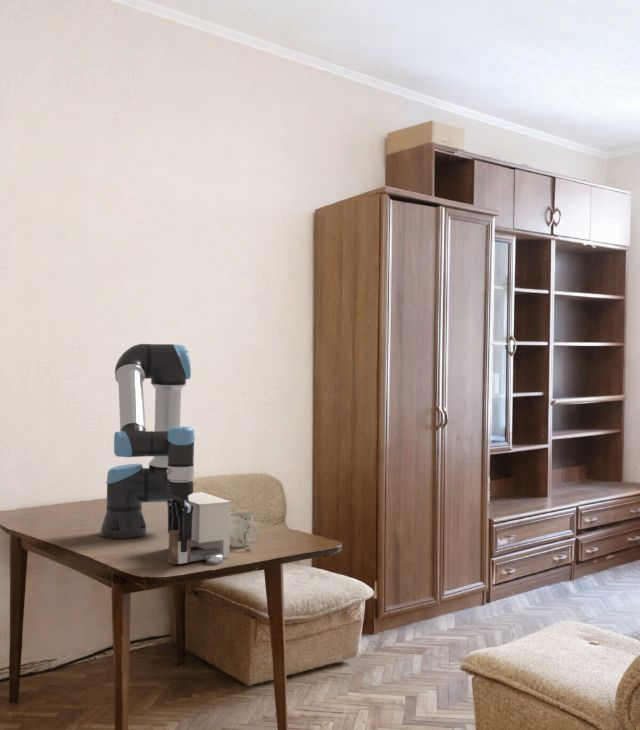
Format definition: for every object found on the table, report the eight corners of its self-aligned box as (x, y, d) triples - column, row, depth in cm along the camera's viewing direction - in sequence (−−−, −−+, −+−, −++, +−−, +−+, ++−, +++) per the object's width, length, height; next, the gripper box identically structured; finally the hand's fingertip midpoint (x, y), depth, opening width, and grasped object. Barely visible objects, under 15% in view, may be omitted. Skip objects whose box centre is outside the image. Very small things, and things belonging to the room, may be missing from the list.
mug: (239, 541, 258) (240, 510, 258) (267, 547, 250) (268, 515, 250) (221, 545, 252) (221, 514, 252) (249, 551, 244) (250, 519, 244)
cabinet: (171, 548, 247) (171, 494, 247) (201, 544, 252) (202, 492, 253) (198, 561, 230) (199, 504, 230) (230, 557, 235) (231, 501, 236)
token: (202, 562, 230) (203, 554, 230) (218, 560, 233) (218, 552, 233) (210, 566, 226) (210, 557, 226) (225, 564, 229) (225, 555, 229)
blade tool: (168, 561, 227) (168, 530, 227) (215, 555, 236) (215, 525, 236) (174, 564, 224) (174, 533, 224) (221, 558, 232) (221, 527, 232)
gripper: (156, 477, 232) (155, 556, 232) (180, 485, 218) (178, 569, 218) (180, 475, 236) (179, 553, 236) (204, 483, 222) (203, 566, 222)
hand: (179, 561), depth 227 cm, fingers closed on blade tool, 4 cm apart
